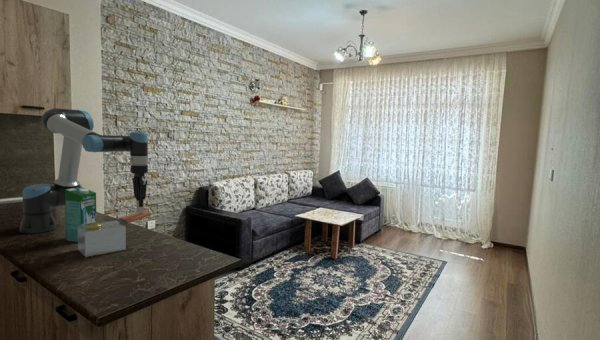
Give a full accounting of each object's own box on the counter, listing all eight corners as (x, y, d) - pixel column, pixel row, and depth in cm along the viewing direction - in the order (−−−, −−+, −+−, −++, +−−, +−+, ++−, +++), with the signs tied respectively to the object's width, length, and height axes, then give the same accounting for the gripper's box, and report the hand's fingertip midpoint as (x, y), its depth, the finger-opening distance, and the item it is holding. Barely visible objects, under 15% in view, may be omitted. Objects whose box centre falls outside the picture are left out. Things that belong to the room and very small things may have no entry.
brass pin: (84, 250, 148) (83, 223, 147) (100, 247, 153) (100, 221, 152) (88, 254, 144) (87, 227, 143) (104, 251, 149) (104, 224, 147)
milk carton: (81, 242, 158) (80, 190, 156) (65, 240, 160) (64, 189, 157) (97, 236, 167) (96, 188, 164) (81, 235, 169) (80, 186, 166)
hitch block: (78, 249, 149) (77, 225, 148) (117, 242, 160) (116, 220, 159) (85, 257, 141) (84, 232, 140) (125, 249, 152) (125, 226, 151)
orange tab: (119, 220, 158) (118, 218, 158) (145, 211, 167) (144, 209, 166) (125, 224, 153) (124, 222, 152) (151, 215, 161) (151, 212, 161)
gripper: (125, 163, 160) (127, 211, 162) (136, 166, 151) (137, 216, 153) (142, 163, 165) (142, 209, 168) (152, 165, 156) (153, 214, 159)
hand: (140, 213), depth 161 cm, fingers closed
